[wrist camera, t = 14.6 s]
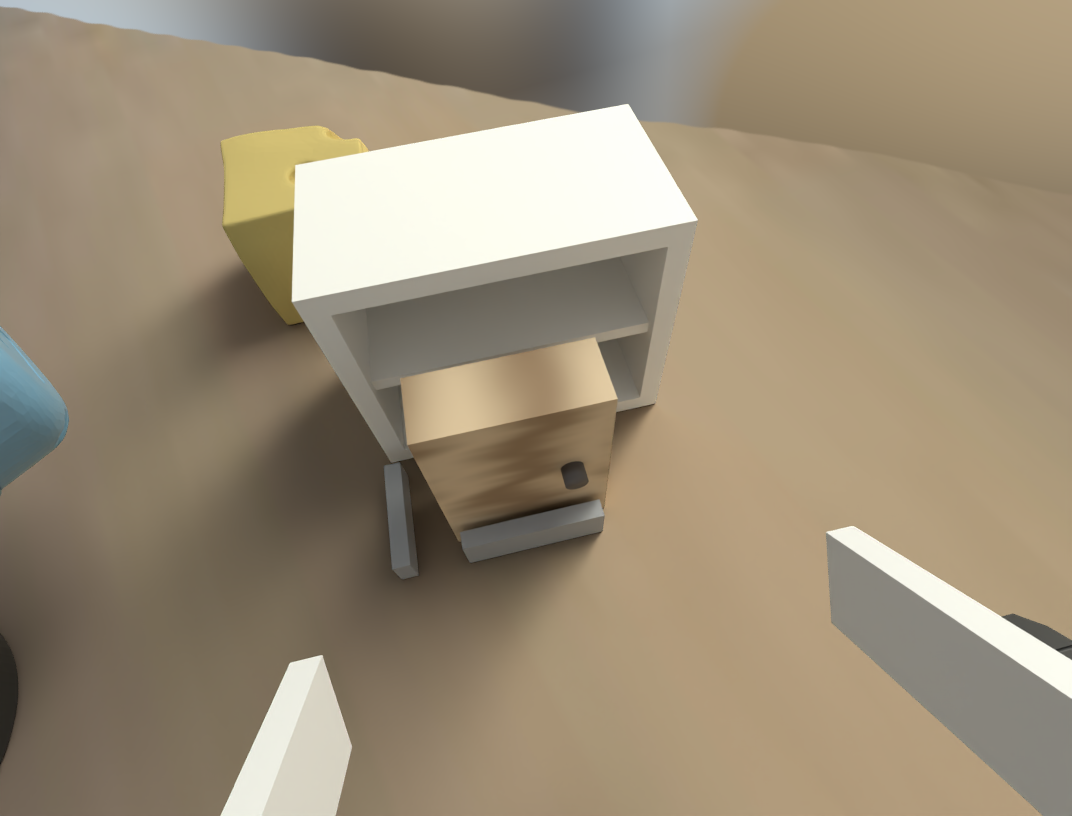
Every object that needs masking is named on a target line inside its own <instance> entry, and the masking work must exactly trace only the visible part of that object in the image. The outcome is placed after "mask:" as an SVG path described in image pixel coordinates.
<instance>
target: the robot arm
mask: <svg viewBox="0 0 1072 816" xmlns="http://www.w3.org/2000/svg"><path fill="white" fill-rule="evenodd" d="M68 422H69V416H68V410H67V408H66V405H65V403H64V401H63V400H62V398H61V397H60V395H59V394H58V392H57V391H56V390H55V388H54V387H53V386H52V384H51V383H50V382H49V381H48V379H47V378H46V377H45V376H44V375H43V373H42V372H41V371H40V370H39V369H38V368H37V366H36V365H35V364H34V363H33V362H32V361H31V359H30V358H29V357H28V356H27V355H26V354H25V353H24V352H23V351H22V349H21V348H20V347H19V346H18V345H17V344H16V343H15V342H14V340H13V339H12V338H11V337H10V336H9V335H8V334H7V333H6V332H5V331H4V330H3V329H2V327H1V326H0V495H1V490H2V489H3V488H4V487H6V486H7V485H8V484H10V483H11V482H12V481H14V480H15V479H16V478H18V477H19V476H20V475H21V474H23V473H24V472H25V471H27V470H28V469H29V468H31V467H32V466H33V465H35V464H36V463H37V462H38V461H40V460H41V459H42V458H44V457H45V456H46V455H48V454H49V453H50V452H52V451H53V450H54V449H55V448H56V447H57V446H58V445H59V444H60V443H61V441H62V440H63V439H64V437H65V435H66V432H67V428H68ZM826 540H827V557H828V573H829V589H830V606H831V622H832V624H834V625H835V626H836V627H837V628H838V629H839V630H840V631H841V632H842V633H843V634H845V635H846V636H847V637H848V638H849V639H850V640H851V641H852V642H853V643H854V644H856V645H857V646H858V647H859V648H860V649H861V650H862V651H863V652H864V653H865V654H866V655H868V656H869V657H870V658H871V659H872V660H873V661H874V662H875V663H876V664H877V665H879V666H880V667H881V668H882V669H883V670H884V671H885V672H886V673H887V674H888V675H890V676H891V677H892V678H893V679H894V680H895V681H896V682H897V683H898V684H899V685H900V686H902V687H903V688H904V689H905V690H906V691H907V692H908V693H909V694H910V695H911V696H913V697H914V698H915V699H916V700H917V701H918V702H919V703H920V704H921V705H922V706H923V707H925V708H926V709H927V710H928V711H929V712H930V713H931V714H932V715H933V716H934V717H936V718H937V719H938V720H939V721H940V722H941V723H942V724H943V725H944V726H945V727H947V728H948V729H949V730H950V731H951V732H952V733H953V734H954V735H955V736H956V737H957V738H959V739H960V740H961V741H962V742H963V743H964V744H965V745H966V746H967V747H968V748H970V749H971V750H972V751H973V752H974V753H975V754H976V755H977V756H978V757H979V758H980V759H982V760H983V761H984V762H985V763H986V764H987V765H988V766H989V767H990V768H991V769H993V770H994V771H995V772H996V773H997V774H998V775H999V776H1000V777H1001V778H1002V779H1004V780H1005V781H1006V782H1007V783H1008V784H1009V785H1010V786H1011V787H1012V788H1013V789H1014V790H1016V791H1017V792H1018V793H1019V794H1020V795H1021V796H1022V797H1023V798H1024V799H1025V800H1027V801H1028V802H1029V803H1030V804H1031V805H1032V806H1033V807H1034V808H1035V809H1036V810H1038V811H1039V812H1040V813H1041V814H1042V815H1043V816H1072V640H1070V639H1068V638H1067V637H1065V636H1063V635H1061V634H1060V633H1058V632H1056V631H1055V630H1053V629H1051V628H1049V627H1048V626H1045V625H1042V624H1040V623H1037V622H1034V621H1031V620H1029V619H1026V618H1023V617H1020V616H1018V615H1015V614H1010V615H1006V616H1002V617H1001V616H999V615H997V614H996V613H994V612H993V611H991V610H989V609H988V608H986V607H984V606H983V605H981V604H980V603H978V602H976V601H975V600H973V599H971V598H970V597H968V596H967V595H965V594H963V593H962V592H960V591H958V590H957V589H955V588H954V587H952V586H950V585H949V584H947V583H945V582H944V581H942V580H940V579H939V578H937V577H936V576H934V575H932V574H931V573H929V572H927V571H926V570H924V569H923V568H921V567H919V566H918V565H916V564H914V563H913V562H911V561H910V560H908V559H906V558H905V557H903V556H901V555H900V554H898V553H897V552H895V551H893V550H892V549H890V548H888V547H887V546H885V545H884V544H882V543H880V542H879V541H877V540H875V539H874V538H872V537H871V536H869V535H867V534H866V533H864V532H862V531H861V530H859V529H857V528H856V527H854V526H850V527H846V528H842V529H837V530H833V531H829V532H826ZM17 699H18V677H17V669H16V664H15V660H14V657H13V654H12V652H11V649H10V647H9V645H8V644H7V642H6V640H5V639H4V637H3V636H2V635H1V634H0V763H1V760H2V758H3V756H4V753H5V750H6V747H7V745H8V742H9V739H10V735H11V732H12V728H13V724H14V719H15V714H16V708H17ZM351 749H352V745H351V742H350V739H349V736H348V733H347V730H346V727H345V724H344V721H343V718H342V715H341V711H340V708H339V705H338V702H337V699H336V696H335V693H334V690H333V687H332V684H331V681H330V678H329V674H328V671H327V668H326V665H325V662H324V659H323V656H322V655H320V656H316V657H312V658H308V659H304V660H300V661H296V662H291V663H290V664H289V666H288V669H287V671H286V673H285V675H284V677H283V680H282V682H281V684H280V686H279V688H278V691H277V693H276V695H275V697H274V699H273V702H272V704H271V706H270V708H269V710H268V713H267V715H266V717H265V719H264V721H263V724H262V726H261V728H260V730H259V732H258V735H257V737H256V739H255V741H254V743H253V746H252V748H251V750H250V752H249V754H248V757H247V759H246V761H245V763H244V765H243V768H242V770H241V772H240V774H239V776H238V779H237V781H236V783H235V785H234V787H233V790H232V792H231V794H230V796H229V798H228V801H227V803H226V805H225V807H224V809H223V812H222V814H221V816H336V812H337V808H338V804H339V799H340V795H341V791H342V787H343V783H344V778H345V774H346V770H347V766H348V762H349V757H350V753H351Z"/></svg>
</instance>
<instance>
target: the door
mask: <svg viewBox="0 0 1072 816" xmlns="http://www.w3.org/2000/svg"><path fill="white" fill-rule="evenodd" d="M400 381H401V391H402V400H403V410H404V419H405V429H406V438H407V446H408V447H409V449H410V451H411V453H412V455H413V457H414V459H415V461H416V462H417V464H418V466H419V468H420V470H421V472H422V474H423V476H424V478H425V479H426V481H427V483H428V485H429V487H430V489H431V491H432V493H433V494H434V496H435V498H436V500H437V502H438V504H439V506H440V508H441V509H442V511H443V513H444V515H445V517H446V519H447V521H448V523H449V524H450V526H451V528H452V530H453V532H454V534H455V536H456V538H457V540H458V541H461V536H460V532H463V531H467V530H471V529H476V528H480V527H484V526H488V525H492V524H497V523H501V522H505V521H509V520H514V519H518V518H522V517H526V516H531V515H535V514H539V513H543V512H548V511H552V510H556V509H560V508H564V507H569V506H573V505H577V504H581V503H586V502H590V501H594V500H598V499H600V503H601V506H602V508H604V506H605V498H606V490H607V482H608V474H609V466H610V458H611V450H612V441H613V433H614V425H615V417H616V409H617V401H618V398H617V395H616V393H615V390H614V387H613V385H612V382H611V379H610V376H609V374H608V371H607V368H606V365H605V363H604V360H603V357H602V355H601V352H600V349H599V346H598V344H597V341H596V338H595V337H593V338H589V339H584V340H579V341H575V342H570V343H565V344H560V345H556V346H551V347H546V348H541V349H537V350H532V351H527V352H522V353H518V354H513V355H508V356H503V357H499V358H494V359H489V360H484V361H480V362H475V363H470V364H465V365H461V366H456V367H451V368H446V369H442V370H437V371H432V372H427V373H423V374H418V375H413V376H409V377H404V378H400Z"/></svg>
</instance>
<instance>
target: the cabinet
mask: <svg viewBox="0 0 1072 816" xmlns="http://www.w3.org/2000/svg"><path fill="white" fill-rule="evenodd" d="M697 222H698V220H697V218H696V216H695V215H694V213H693V211H692V210H691V208H690V206H689V205H688V203H687V201H686V200H685V198H684V196H683V195H682V193H681V191H680V190H679V188H678V186H677V185H676V183H675V181H674V180H673V178H672V176H671V175H670V173H669V171H668V170H667V168H666V166H665V165H664V163H663V161H662V160H661V158H660V156H659V155H658V153H657V151H656V150H655V148H654V146H653V145H652V143H651V141H650V140H649V138H648V136H647V135H646V133H645V131H644V129H643V128H642V126H641V124H640V123H639V121H638V119H637V118H636V116H635V114H634V113H633V111H632V109H631V108H630V106H629V105H628V104H626V105H620V106H615V107H609V108H604V109H598V110H593V111H588V112H582V113H577V114H571V115H566V116H560V117H555V118H549V119H544V120H539V121H533V122H528V123H522V124H517V125H511V126H506V127H500V128H495V129H490V130H484V131H479V132H473V133H468V134H462V135H457V136H451V137H446V138H441V139H435V140H430V141H424V142H419V143H413V144H408V145H402V146H397V147H392V148H386V149H381V150H375V151H370V152H364V153H359V154H353V155H348V156H343V157H337V158H332V159H326V160H321V161H315V162H310V163H304V164H299V165H295V199H294V237H293V274H292V303H293V305H294V306H295V308H296V310H297V311H298V313H299V314H300V316H301V318H302V319H303V321H304V323H305V324H306V326H307V327H308V329H309V331H310V332H311V334H312V335H313V337H314V339H315V340H316V342H317V344H318V345H319V347H320V348H321V350H322V352H323V353H324V355H325V356H326V358H327V360H328V361H329V363H330V365H331V366H332V368H333V369H334V371H335V373H336V374H337V376H338V377H339V379H340V381H341V382H342V384H343V386H344V387H345V389H346V390H347V392H348V394H349V395H350V397H351V398H352V400H353V402H354V403H355V405H356V407H357V408H358V410H359V411H360V413H361V415H362V416H363V418H364V419H365V421H366V423H367V424H368V426H369V428H370V429H371V431H372V432H373V434H374V436H375V437H376V439H377V440H378V442H379V444H380V445H381V447H382V449H383V450H384V452H385V453H386V455H387V457H388V458H389V460H390V461H391V463H393V462H397V461H402V460H406V459H410V458H414V457H413V455H412V453H411V451H410V449H409V447H408V446H407V438H406V429H405V419H404V410H403V400H402V391H401V381H400V378H404V377H409V376H413V375H418V374H423V373H427V372H432V371H437V370H442V369H446V368H451V367H456V366H461V365H465V364H470V363H475V362H480V361H484V360H489V359H494V358H499V357H503V356H508V355H513V354H518V353H522V352H527V351H532V350H537V349H541V348H546V347H551V346H556V345H560V344H565V343H570V342H575V341H579V340H584V339H589V338H593V337H595V338H596V341H597V344H598V346H599V349H600V352H601V355H602V357H603V360H604V363H605V365H606V368H607V371H608V374H609V376H610V379H611V382H612V385H613V387H614V390H615V393H616V395H617V398H618V401H617V409H616V412H619V411H624V410H628V409H633V408H637V407H642V406H646V405H651V404H655V403H656V399H657V395H658V390H659V386H660V382H661V377H662V373H663V369H664V364H665V360H666V356H667V351H668V347H669V343H670V338H671V334H672V330H673V326H674V321H675V317H676V313H677V308H678V304H679V300H680V295H681V291H682V287H683V282H684V278H685V274H686V269H687V265H688V261H689V256H690V252H691V248H692V243H693V239H694V235H695V230H696V226H697ZM384 475H385V487H386V500H387V512H388V524H389V536H390V549H391V561H392V570H393V571H394V572H395V573H396V574H397V575H398V576H399V577H400V578H401V579H406V578H410V577H414V576H418V575H419V571H418V562H417V552H416V543H415V534H414V524H413V515H412V506H411V497H410V487H409V478H408V475H407V473H406V471H405V470H404V468H403V466H402V465H401V463H400V462H398V463H394V464H389V465H385V466H384ZM604 516H605V515H604V512H603V509H602V506H601V503H600V499H598V500H594V501H590V502H586V503H581V504H577V505H573V506H569V507H564V508H560V509H556V510H552V511H548V512H543V513H539V514H535V515H531V516H526V517H522V518H518V519H514V520H509V521H505V522H501V523H497V524H492V525H488V526H484V527H480V528H476V529H471V530H467V531H463V532H460V536H461V542H462V549H463V551H464V553H465V555H466V557H467V559H468V560H469V562H470V563H473V562H477V561H481V560H485V559H489V558H493V557H497V556H502V555H506V554H510V553H514V552H518V551H522V550H527V549H531V548H535V547H539V546H543V545H547V544H552V543H556V542H560V541H564V540H568V539H572V538H576V537H581V536H585V535H589V534H593V533H597V532H601V531H603V524H604Z"/></svg>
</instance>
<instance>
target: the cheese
mask: <svg viewBox="0 0 1072 816" xmlns="http://www.w3.org/2000/svg"><path fill="white" fill-rule="evenodd" d="M221 152H222V158H223V164H224V209H223V221H222V226H223V228H224V230H225V232H226V234H227V236H228V238H229V239H230V241H231V243H232V245H233V247H234V249H235V250H236V252H237V254H238V256H239V257H240V259H241V261H242V262H243V264H244V266H245V267H246V269H247V270H248V272H249V273H250V275H251V276H252V278H253V279H254V281H255V282H256V284H257V285H258V287H259V288H260V290H261V291H262V292H263V294H264V295H265V297H266V298H267V300H268V301H269V303H270V304H271V305H272V307H273V308H274V309H275V310H276V312H277V313H278V314H279V315H280V316H281V317H282V319H283V320H284V321H285V322H286V323H287V324H288V325H292V324H297V323H301V322H304V321H303V319H302V318H301V316H300V314H299V313H298V311H297V310H296V308H295V306H294V305H293V303H292V274H293V237H294V199H295V165H299V164H304V163H310V162H315V161H321V160H326V159H332V158H337V157H343V156H348V155H353V154H359V153H364V152H369V151H368V149H367V147H366V146H365V145H364V144H363V143H362V142H361V140H360V139H358V138H356V139H347V140H343V139H341V138H340V137H338V136H337V135H336V134H335V133H333V132H332V131H330V130H329V129H327V128H324V127H321V126H307V127H299V128H291V129H283V130H272V131H263V132H256V133H250V134H245V135H240V136H236V137H233V138H229V139H226V140H223V141H222V142H221Z"/></svg>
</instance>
